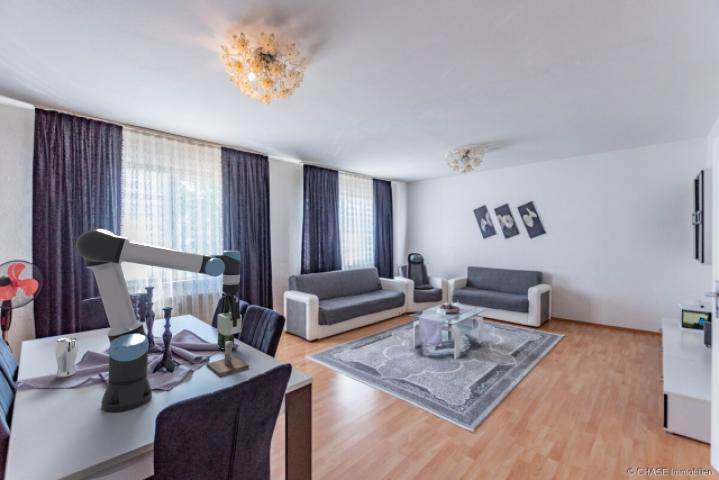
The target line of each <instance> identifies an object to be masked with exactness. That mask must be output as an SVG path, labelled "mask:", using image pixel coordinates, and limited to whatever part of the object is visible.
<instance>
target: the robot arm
mask: <svg viewBox="0 0 719 480" xmlns="http://www.w3.org/2000/svg"><path fill="white" fill-rule="evenodd" d="M75 249H76V251H77V253H78V254H79V256H81V258H83V260H84V263H85V265H86V268H87V269H90V270H91V271H93V274H94V277H95V280H96V285H97V288H98V291H99V294H100V298H101V301H102V304H103V306H104V311H105V314H106V318H107V320H108V323H109V327H110V329H109V331H108V332H107V337H108V340H109V349H108V355H109V356H108V381H107V382H108V385H107V387H106V389H105V391H104V394H103V396H102V399H101V402H100V403H101V405H100V406H101V410H102V411H104V412H106V413H121V412H126V411H131V410H134V409H137V408H140V407H141V406H143V405H145V404H146V403H147V404H148V402H150V401H151V399H152V395H153V389H152V387H151V384H150V382H149V381H150V380H149V379H148V361H149V360H148V359H149V346H150V343H149V337H148V335H147V333H146V332H145V328H144V324H143V322H142V321H140V320H138V319H137V317H136V313H135V310H134V307H133V303H132V299H131V296H130V293H129V289H128V286H127V282H126V278H125V274H124V271H123V268H122V263H124V262H125V263H130V264H131V263H132V264H138V265H144V266H151V267H155V268H163V269H169V270H170V269H171V270H176V271H182V272H189V273H196V274H202V275H207V276H209V277H220V276H221V275H222V279H221V280H222V282H221V283H222V284H221V285H222V288H221V290H222V294H221V303H220V304H221V305H220V306H221V307H220V314H223V313H230V312H231V316H232V319H230V320H231V330H230V334H234V335H235V334H238V333H237V319H240V315H241V310H240V309H241V308H240V306H241V305H240V301H241V300H240V298H241V297H238V296H237V293H239V292H240V285H241V284H240V282H241V281H240V278H241V275H240V274H241V261H242V259H241V258H242V257H241V252H240V251H239V250H224V251H223V253H222V254H198V253H193V252H189V251H188V252H187V251H181V250H176V249H172V248H171V249H170V248H165V247H161V246H157V245H151V244H146V243H145V244H144V243H141V242H140V243H139V242H135V241H130V240H129V239H128V237H123V236H119V235H117V234H116V233H115V232H114V231H112V230H110V229H106V228H94V229H90V230H87V231H85V232H83V233H81V234H80V235H79V236H78V238H77V239H76V242H75Z"/></svg>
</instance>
